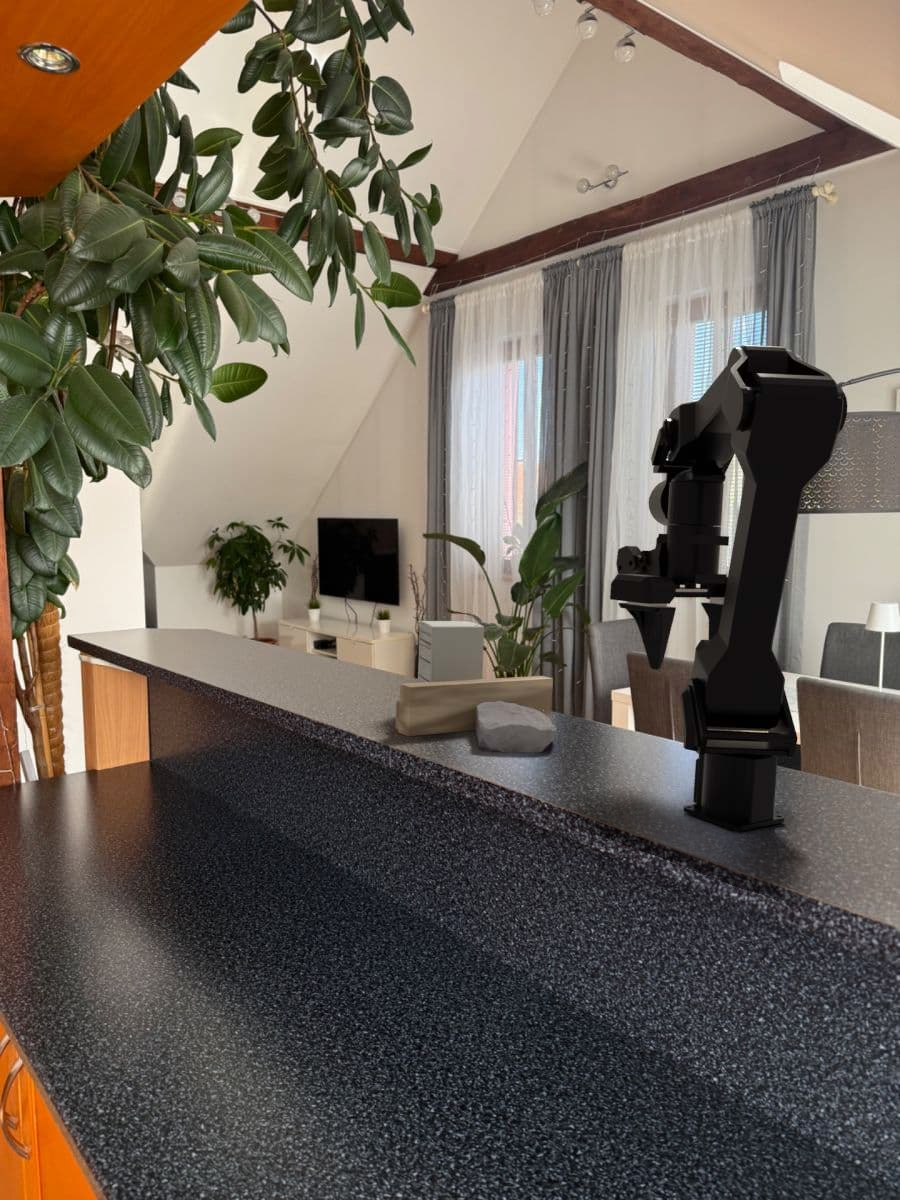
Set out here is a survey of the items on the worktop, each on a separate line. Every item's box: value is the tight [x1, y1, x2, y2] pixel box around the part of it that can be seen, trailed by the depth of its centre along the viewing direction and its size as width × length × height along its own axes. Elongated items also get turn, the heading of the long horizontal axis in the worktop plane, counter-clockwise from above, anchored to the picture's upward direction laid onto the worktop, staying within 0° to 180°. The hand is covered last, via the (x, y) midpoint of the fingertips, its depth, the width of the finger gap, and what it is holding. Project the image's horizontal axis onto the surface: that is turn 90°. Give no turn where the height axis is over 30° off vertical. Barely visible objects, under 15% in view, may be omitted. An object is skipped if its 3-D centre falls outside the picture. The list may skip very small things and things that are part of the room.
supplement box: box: [417, 620, 485, 683], centre depth 124 cm, size 7×7×13 cm
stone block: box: [474, 701, 558, 754], centre depth 110 cm, size 12×5×10 cm
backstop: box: [395, 675, 554, 737], centre depth 118 cm, size 4×22×6 cm, turn 122°
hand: (685, 667), depth 100 cm, fingers open, 9 cm apart
